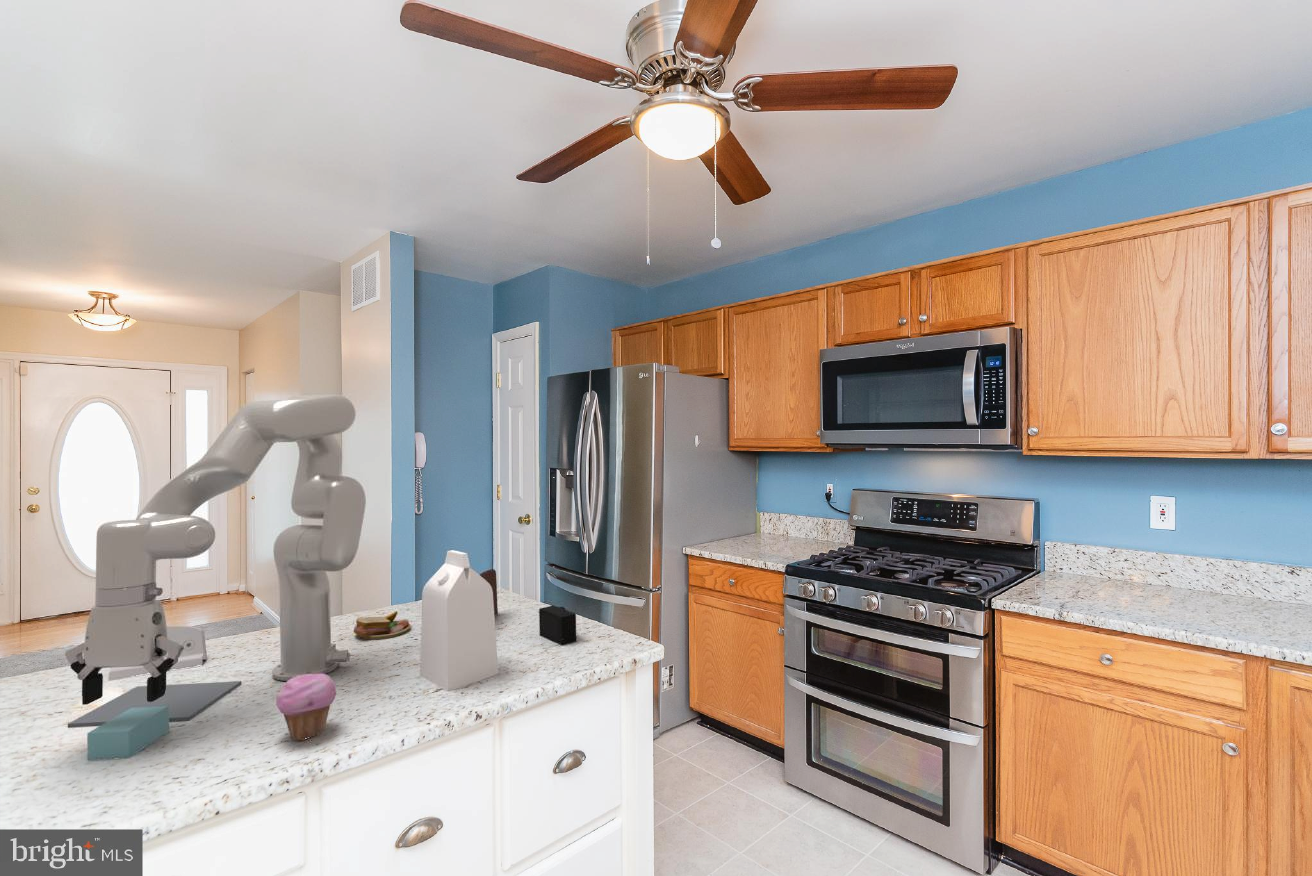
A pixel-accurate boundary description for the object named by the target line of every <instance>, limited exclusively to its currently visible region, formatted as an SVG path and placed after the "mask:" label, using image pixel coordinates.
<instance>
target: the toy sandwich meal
mask: <svg viewBox="0 0 1312 876" xmlns="http://www.w3.org/2000/svg"><path fill="white" fill-rule="evenodd" d="M397 615H398V611H397V610H396V611H394V612H391V613H390V614H388V615H386V616H369V617H368V616H367V617H365V616H364V617H363V616H361V617H360V616H359V617H356V622H355V623H356V625H355V626H354V629H353V633H355V635H358V636H360V637H361V638H363V639H367V640H384V639H390V638H394V637H397V636H401V635H402V634H406V632H407V631H408V630H409V629H410V628H411V626H412V625H411V623H410V621H409V619H400V620H395V619H396V617H397Z"/></svg>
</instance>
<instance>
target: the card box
mask: <svg viewBox="0 0 1312 876" xmlns="http://www.w3.org/2000/svg"><path fill="white" fill-rule="evenodd" d="M168 730H169V731H170V721H169V706H158V707H140V708H130V709H129V710H127V711H125V712H124V713H122V714H120V715H118V716H117V717H115V718H113V719H111V720H110V721H108V722H106V723H104V724H103V725H98V727H96V728H94V729H92V730H91V731H89V732H87V734H86V735H87V736H86V737H87V738H86V739H87V742H86V743H87V745H86V746H87V761H102V760H115V759H114V758H120V759H129V758H131V757H132V756H134V755H135V754H137V753H138V752H140V751H141V750H143V749H144V748H145V747H147V746H149V745H150V744H152V743H153V742H155V739H156V738H157V739H159V738H160V737H161V735H162V736H163V735H164V734H166V733H168V732H169V731H168ZM158 737H159V738H158ZM157 739H156V740H157ZM143 747H144V748H143ZM142 748H143V749H142ZM140 749H141V750H140ZM139 750H140V751H139ZM136 752H137V753H136ZM130 756H131V757H130Z"/></svg>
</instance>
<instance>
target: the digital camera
mask: <svg viewBox="0 0 1312 876" xmlns="http://www.w3.org/2000/svg"><path fill="white" fill-rule="evenodd" d="M538 617H539V618H538V619H539V620H538V624H539V625H538V626H539V628H538V629H539V636H540V637H541V638H545V639H546V640H548V641H551V642H553V643H555V644H556V645H557V644H558V645H560V646H564V645H569V644H573V643H576V642H577V614H576V613H575V612H572V611H570V610H568V609H566V608H565V607H564V606H556V605H549V606H546V607H540V608H538Z"/></svg>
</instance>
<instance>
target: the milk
mask: <svg viewBox="0 0 1312 876" xmlns="http://www.w3.org/2000/svg"><path fill="white" fill-rule="evenodd" d="M445 555H446V557H445V559H444V560H445V561H444V563H443V564H442V565H441V566H440V568H439V569H438V570H437V571H436V572H435V574H433V575H432V576H431V578H429V580H428V581H427V582H426V583H425V585H424V586H423V589H422V594H421V597H422V598H421V622H420V623H421V625H420V657H419V658H420V659H419V676H420V677H421V678H423V679H425V680H426V681H428V682H430V683H432V684H434V685H436V686H437V687H439V688H441V689H443V690H445V691H446V692H450V691H453V690H455V689H459V688H462V687H465V686H467V685H470V684H474V683H477V682H480V681H482V680H486V679H488V678H491V677H493V676H497V675H499V662H498V647H497V633H496V620H495V617H496V616H495V617H494V603H493V591H492V587H491V585H490V584H489V583H488V582H487V581H486V580H485V579H484V578H482V577H481V576H480V574H479V573H478V572H477V571H476V570H474V569H473V568H471V565H470V560H469V555H468V553H467V552H462V551H458V550H454V549H452V550H447V551H446V554H445Z"/></svg>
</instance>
